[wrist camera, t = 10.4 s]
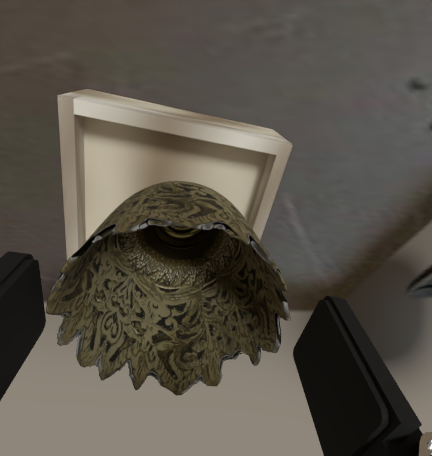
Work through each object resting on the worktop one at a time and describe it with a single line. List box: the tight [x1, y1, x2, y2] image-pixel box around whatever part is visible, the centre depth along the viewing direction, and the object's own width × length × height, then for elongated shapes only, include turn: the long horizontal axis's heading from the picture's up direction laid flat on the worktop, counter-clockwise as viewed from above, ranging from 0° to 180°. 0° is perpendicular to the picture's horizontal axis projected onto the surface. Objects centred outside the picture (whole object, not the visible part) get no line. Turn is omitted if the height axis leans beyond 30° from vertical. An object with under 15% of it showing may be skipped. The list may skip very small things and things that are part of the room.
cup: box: [46, 181, 290, 395], centre depth 12 cm, size 8×7×8 cm
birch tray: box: [58, 89, 293, 260], centre depth 16 cm, size 10×10×4 cm
